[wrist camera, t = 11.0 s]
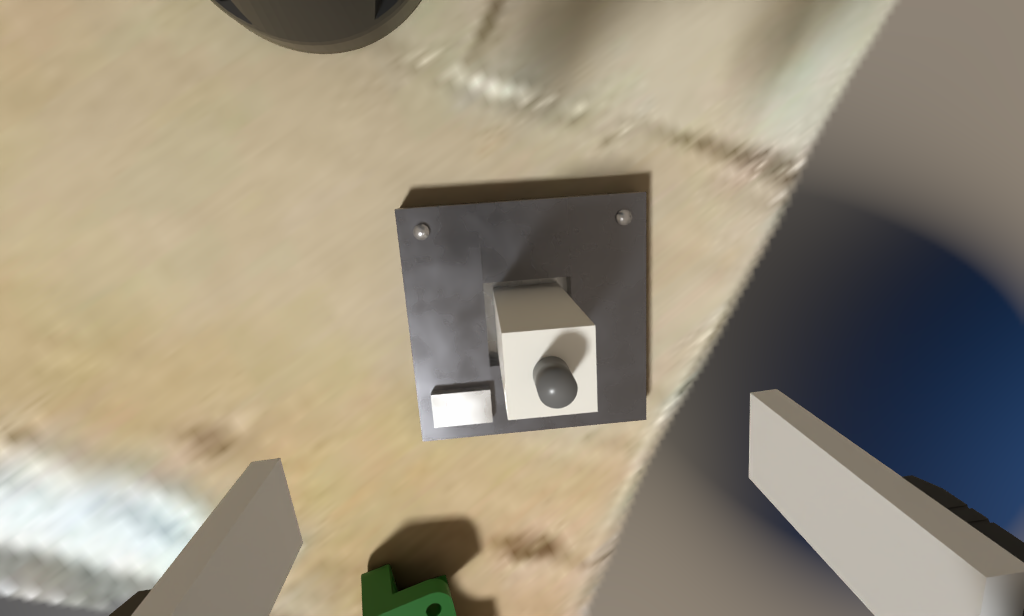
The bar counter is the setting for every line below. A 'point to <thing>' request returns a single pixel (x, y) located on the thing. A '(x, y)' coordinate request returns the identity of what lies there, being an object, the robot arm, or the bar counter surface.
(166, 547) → the bar counter surface
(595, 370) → the plug
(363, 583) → the clamp
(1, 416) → the bar counter surface
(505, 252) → the socket
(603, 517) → the bar counter surface
